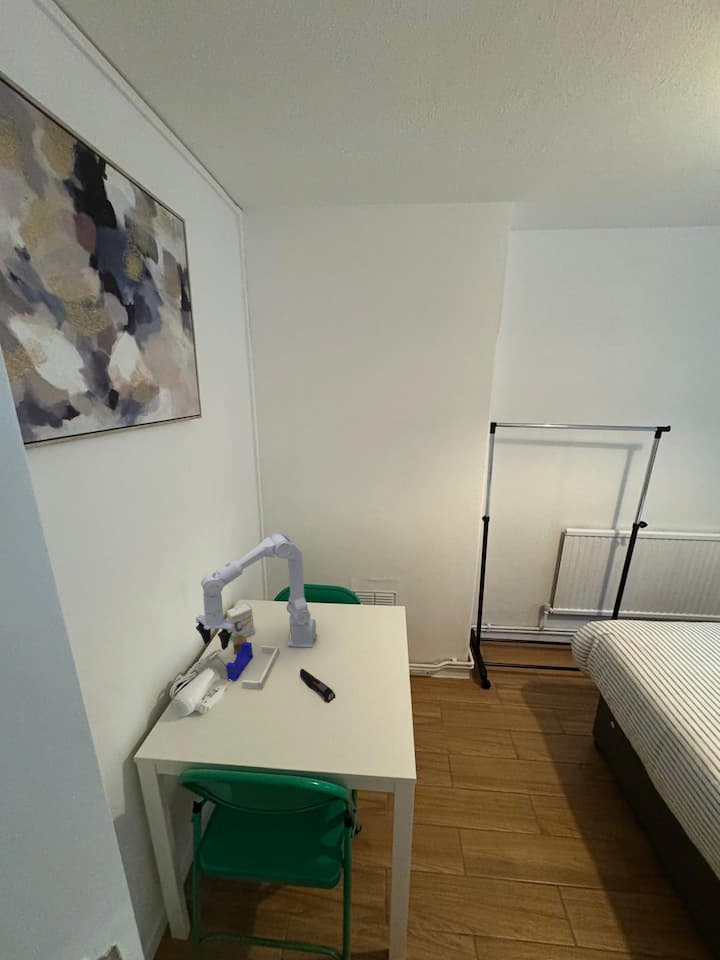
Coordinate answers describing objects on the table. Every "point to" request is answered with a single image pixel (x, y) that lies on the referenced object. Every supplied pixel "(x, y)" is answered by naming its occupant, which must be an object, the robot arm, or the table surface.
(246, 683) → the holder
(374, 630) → the table surface
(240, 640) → the walnut block
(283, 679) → the table surface
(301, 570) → the robot arm
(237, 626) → the ink box
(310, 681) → the electric trimmer
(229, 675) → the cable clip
